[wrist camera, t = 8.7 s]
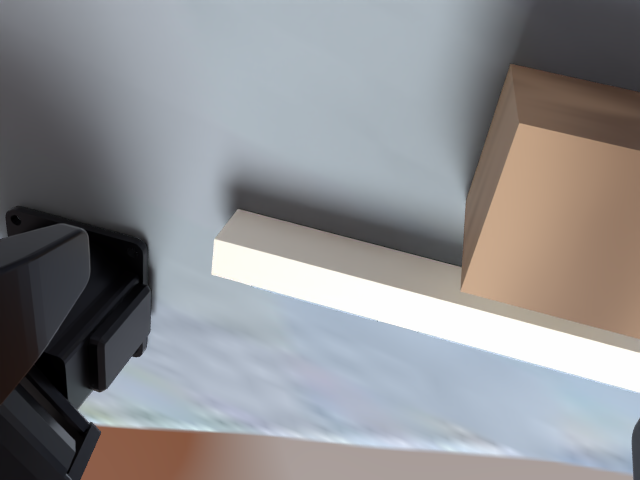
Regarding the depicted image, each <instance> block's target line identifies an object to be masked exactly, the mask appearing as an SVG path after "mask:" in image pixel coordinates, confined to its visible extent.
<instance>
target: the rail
mask: <svg viewBox="0 0 640 480" xmlns="http://www.w3.org/2000/svg"><path fill="white" fill-rule="evenodd" d="M461 272H462V267H459V266H455V265H451V264H447V263H443V262H440V261H436V260H432V259H428V258H424V257H420V256H417V255H413V254H409V253H405V252H401V251H397V250H394V249H390V248H386V247H382V246H378V245H374V244H371V243H367V242H363V241H359V240H355V239H351V238H348V237H344V236H340V235H336V234H332V233H328V232H325V231H321V230H317V229H313V228H309V227H305V226H302V225H298V224H294V223H290V222H286V221H282V220H279V219H275V218H271V217H267V216H263V215H259V214H256V213H252V212H248V211H244V210H240V209H237V211H236V212H235V213H234V215H233V216H232V217H231V218H230V220H229V221H228V222H227V223H226V225H225V226H224V227H223V229H222V230H221V231H220V232H219V234H218V235H217V236H216V237H215V239H214V250H213V263H212V275H215V276H219V277H223V278H226V279H230V280H234V281H237V282H241V283H244V284H248V285H251V287H253V288H257V289H261V290H264V291H268V292H272V293H275V294H279V295H282V296H286V297H290V298H293V299H297V300H301V301H304V302H308V303H311V304H315V305H319V306H322V307H326V308H330V309H333V310H337V311H340V312H344V313H348V314H351V315H355V316H359V317H362V318H366V319H369V320H373V321H377V322H378V320H379V321H382V322H386V323H390V324H393V325H397V326H400V327H404V328H408V329H411V330H415V331H417V333H420V334H424V335H427V336H431V337H435V338H438V339H442V340H445V341H449V342H453V343H456V344H460V345H464V346H467V347H471V348H474V349H478V350H482V351H485V352H489V353H493V354H496V355H500V356H503V357H507V358H511V359H514V360H518V361H522V362H525V363H529V364H532V365H536V366H540V367H543V368H547V369H551V370H554V371H558V372H561V373H565V374H569V375H572V376H576V377H580V378H583V379H587V380H590V381H594V382H598V383H601V384H605V385H608V386H612V387H616V388H619V389H623V390H627V391H630V392H634V393H637V394H638V393H639V392H640V339H637V338H633V337H629V336H625V335H622V334H618V333H614V332H610V331H607V330H603V329H599V328H595V327H592V326H588V325H584V324H580V323H577V322H573V321H569V320H565V319H562V318H558V317H554V316H550V315H547V314H543V313H539V312H535V311H532V310H528V309H524V308H520V307H517V306H513V305H509V304H505V303H502V302H498V301H494V300H490V299H487V298H483V297H479V296H475V295H472V294H468V293H464V292H460V288H461Z"/></svg>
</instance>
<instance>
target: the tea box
mask: <svg viewBox="0 0 640 480" xmlns="http://www.w3.org/2000/svg"><path fill="white" fill-rule="evenodd" d="M460 292H464V293H468V294H472V295H475V296H479V297H483V298H487V299H490V300H494V301H498V302H502V303H505V304H509V305H513V306H517V307H520V308H524V309H528V310H532V311H535V312H539V313H543V314H547V315H550V316H554V317H558V318H562V319H565V320H569V321H573V322H577V323H580V324H584V325H588V326H592V327H595V328H599V329H603V330H607V331H610V332H614V333H618V334H622V335H625V336H629V337H633V338H637V339H640V92H637V91H632V90H628V89H623V88H619V87H614V86H610V85H605V84H601V83H596V82H592V81H587V80H583V79H578V78H573V77H569V76H564V75H560V74H555V73H551V72H546V71H542V70H537V69H533V68H528V67H524V66H519V65H514V64H510V67H509V70H508V73H507V76H506V79H505V82H504V85H503V88H502V91H501V94H500V97H499V100H498V104H497V107H496V110H495V113H494V116H493V119H492V122H491V125H490V128H489V131H488V134H487V137H486V141H485V144H484V147H483V150H482V153H481V156H480V159H479V162H478V165H477V168H476V171H475V174H474V178H473V181H472V184H471V187H470V190H469V193H468V196H467V199H466V208H465V224H464V240H463V256H462V272H461V288H460Z"/></svg>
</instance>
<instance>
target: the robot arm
mask: <svg viewBox="0 0 640 480" xmlns="http://www.w3.org/2000/svg"><path fill="white" fill-rule="evenodd" d="M17 216H18V217H19V218H20V220H19V219H18V217H17ZM6 225H7V232H8V237H6V238H2V239H0V480H80V479H81V477H82V475H83V472H84V470H85V468H86V466H87V463H88V461H89V459H90V457H91V454H92V452H93V450H94V448H95V445H96V443H97V441H98V439H99V436H100V434H101V431H99V429H98V428H97V427H96V426H95V425H94V424H93V423H92V422H90V423H89V422H88V421H87V420H86V419H85V418H84V417H83V416H82V415H81V414H80V412H79V411H78V409H79V407H80V406H81V405H82V404H83V402H84V401H85V400H86V399H87V397H88V396H89V395H90V393H91V392H92V391H93V390H94V391H97V392H102V391H104V390H106V389H107V388H108V387H109V386H110V384H111V383H112V382H113V380H114V379H115V378H116V376H117V375H118V374H119V373H120V371H121V370H122V369H123V367H124V366H125V365H126V363H127V362H128V361H129V359H130V358H131V357H140V356H141V355H142V354H143V352H144V351H145V350H146V347H147V336H148V335H149V333H150V324H151V290H150V288H149V286H148V285H147V275H148V249H147V246H146V244H145V243H144V242H143V241H142V240H140V239H138V238H135V237H131V236H127V235H124V234H120V233H116V232H113V231H109V230H105V229H102V228H98V227H94V226H91V225H87V224H83V223H80V222H76V221H72V220H69V219H65V218H61V217H58V216H54V215H50V214H47V213H43V212H39V211H36V210H32V209H28V208H25V207H21V206H16V207H13V208H12V209H10V210H9V211H8V212H7V213H6ZM132 247H133V248H135V249H136V250H137V252H138V253H136V252H134V251H133V249H132ZM632 459H633V479H634V480H640V419H639V420H638V422H637V423H636V425H635V427H634V430H633V434H632Z"/></svg>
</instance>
